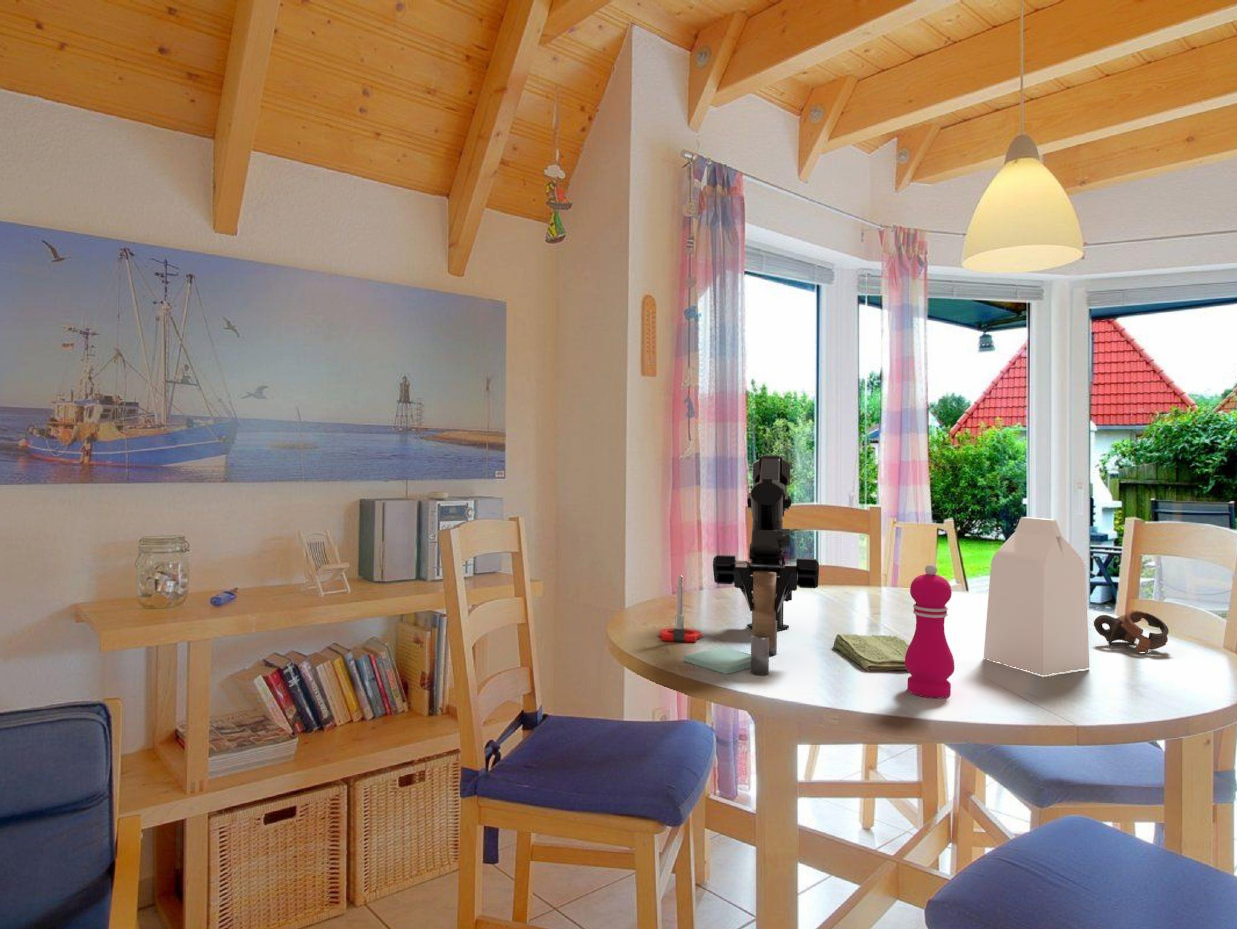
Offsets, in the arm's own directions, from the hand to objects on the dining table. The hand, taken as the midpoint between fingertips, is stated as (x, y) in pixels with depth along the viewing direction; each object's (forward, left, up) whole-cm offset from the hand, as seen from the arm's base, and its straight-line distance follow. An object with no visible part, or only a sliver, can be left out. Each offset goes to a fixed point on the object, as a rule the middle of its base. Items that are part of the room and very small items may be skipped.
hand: (763, 610), depth 133 cm
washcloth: (-21, +10, -10) cm, 25 cm away
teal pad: (+4, -5, -9) cm, 12 cm away
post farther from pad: (-7, -4, -9) cm, 12 cm away
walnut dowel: (-1, -1, -7) cm, 7 cm away
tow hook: (-3, -23, -10) cm, 25 cm away
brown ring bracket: (-66, +36, -10) cm, 76 cm away
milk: (-39, +30, -10) cm, 50 cm away
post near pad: (+4, +3, -9) cm, 11 cm away
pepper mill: (-9, +26, -10) cm, 29 cm away
